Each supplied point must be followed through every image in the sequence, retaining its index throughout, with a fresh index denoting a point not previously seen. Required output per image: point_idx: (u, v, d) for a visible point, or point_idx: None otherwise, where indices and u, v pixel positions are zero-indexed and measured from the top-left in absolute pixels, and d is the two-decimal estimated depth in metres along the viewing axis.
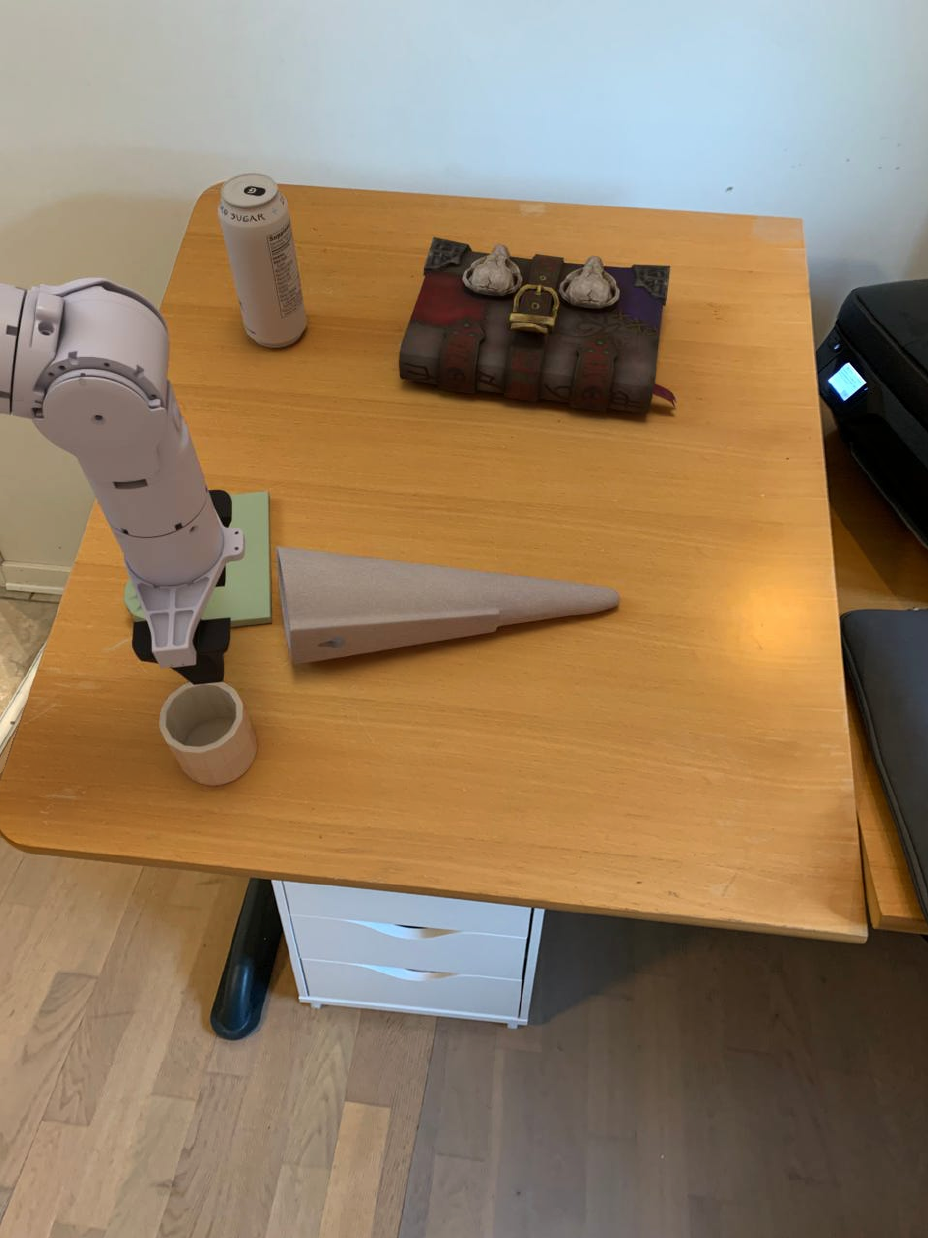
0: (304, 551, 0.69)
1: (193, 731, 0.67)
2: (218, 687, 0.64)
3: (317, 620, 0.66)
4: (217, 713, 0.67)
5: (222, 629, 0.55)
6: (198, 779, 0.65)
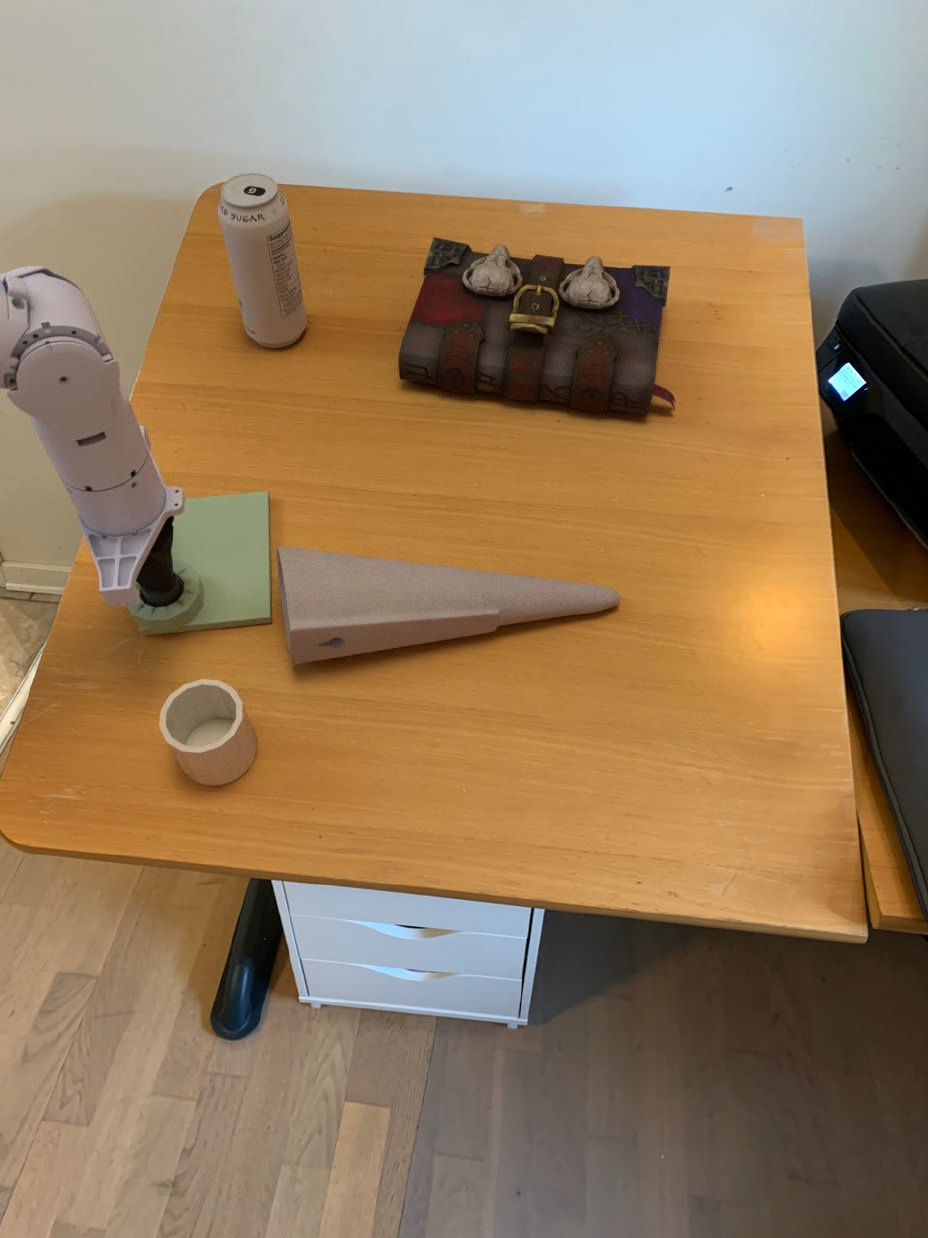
0: (304, 551, 0.69)
1: (193, 731, 0.67)
2: (218, 687, 0.64)
3: (317, 620, 0.66)
4: (217, 713, 0.67)
5: (166, 534, 0.65)
6: (198, 779, 0.65)
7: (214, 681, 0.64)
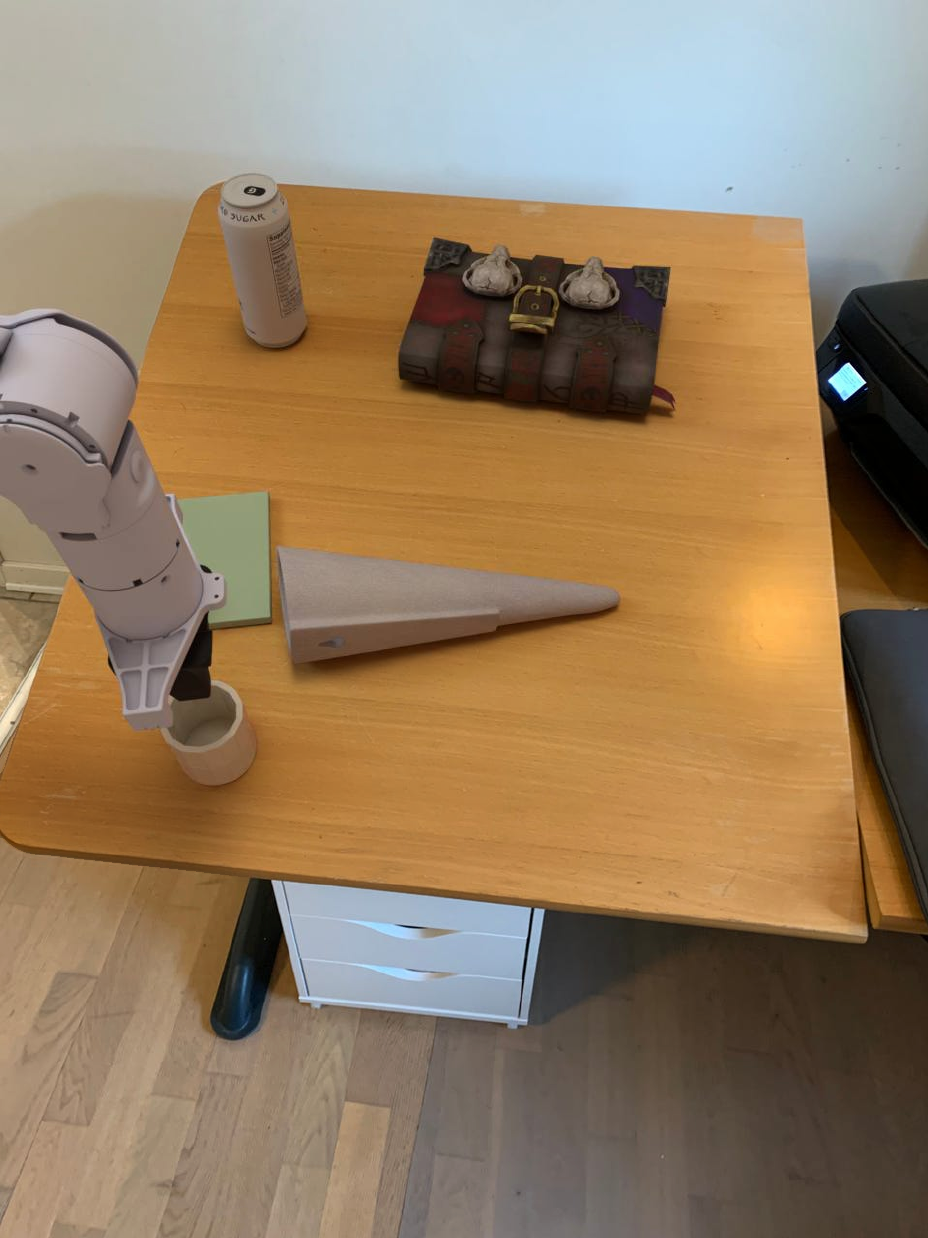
0: (304, 551, 0.69)
1: (193, 731, 0.67)
2: (218, 687, 0.64)
3: (317, 619, 0.66)
4: (217, 713, 0.67)
5: (203, 643, 0.52)
6: (198, 779, 0.65)
7: (214, 681, 0.64)
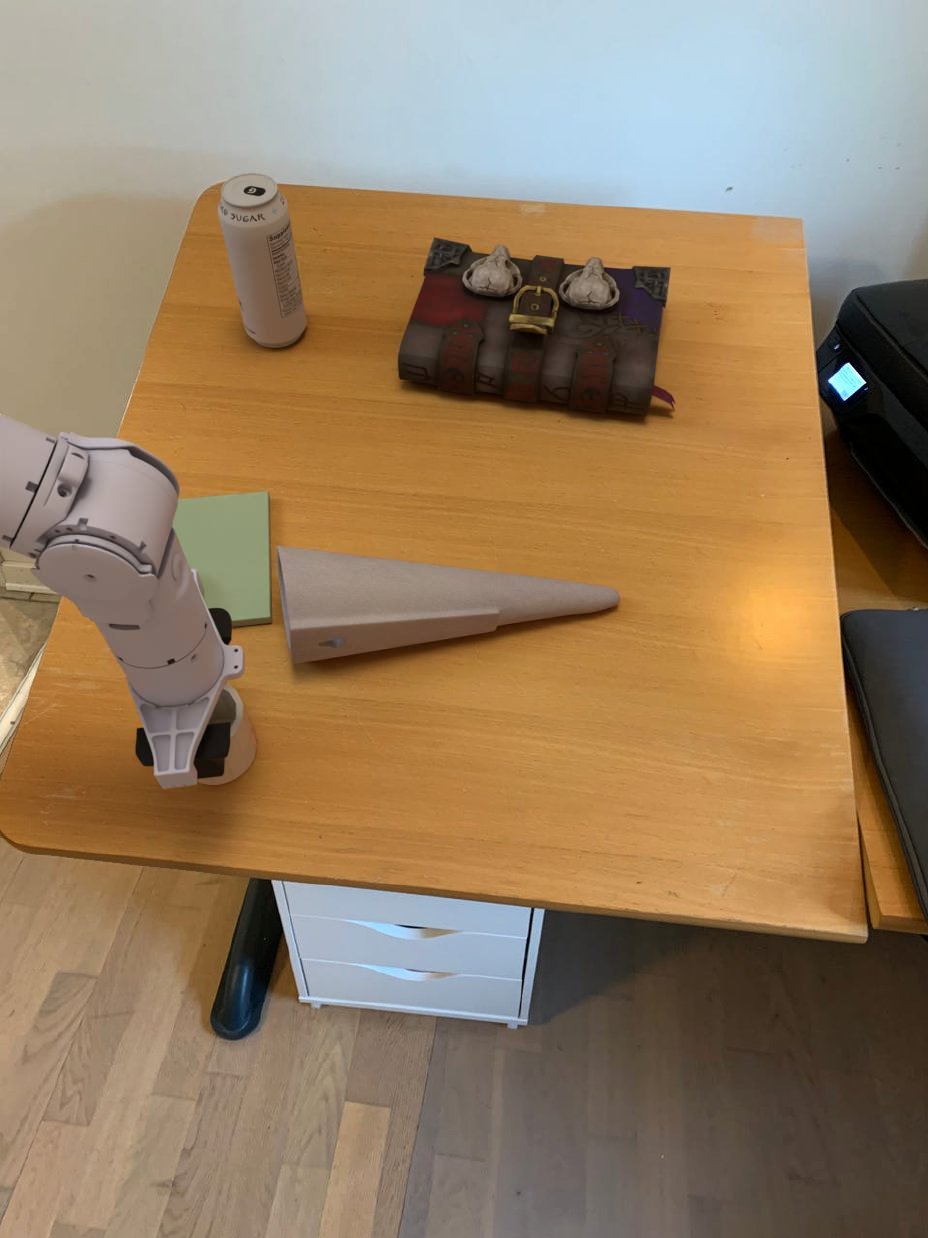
0: (304, 550, 0.69)
1: None
2: None
3: (318, 619, 0.66)
4: (217, 712, 0.67)
5: (222, 735, 0.57)
6: None
7: None
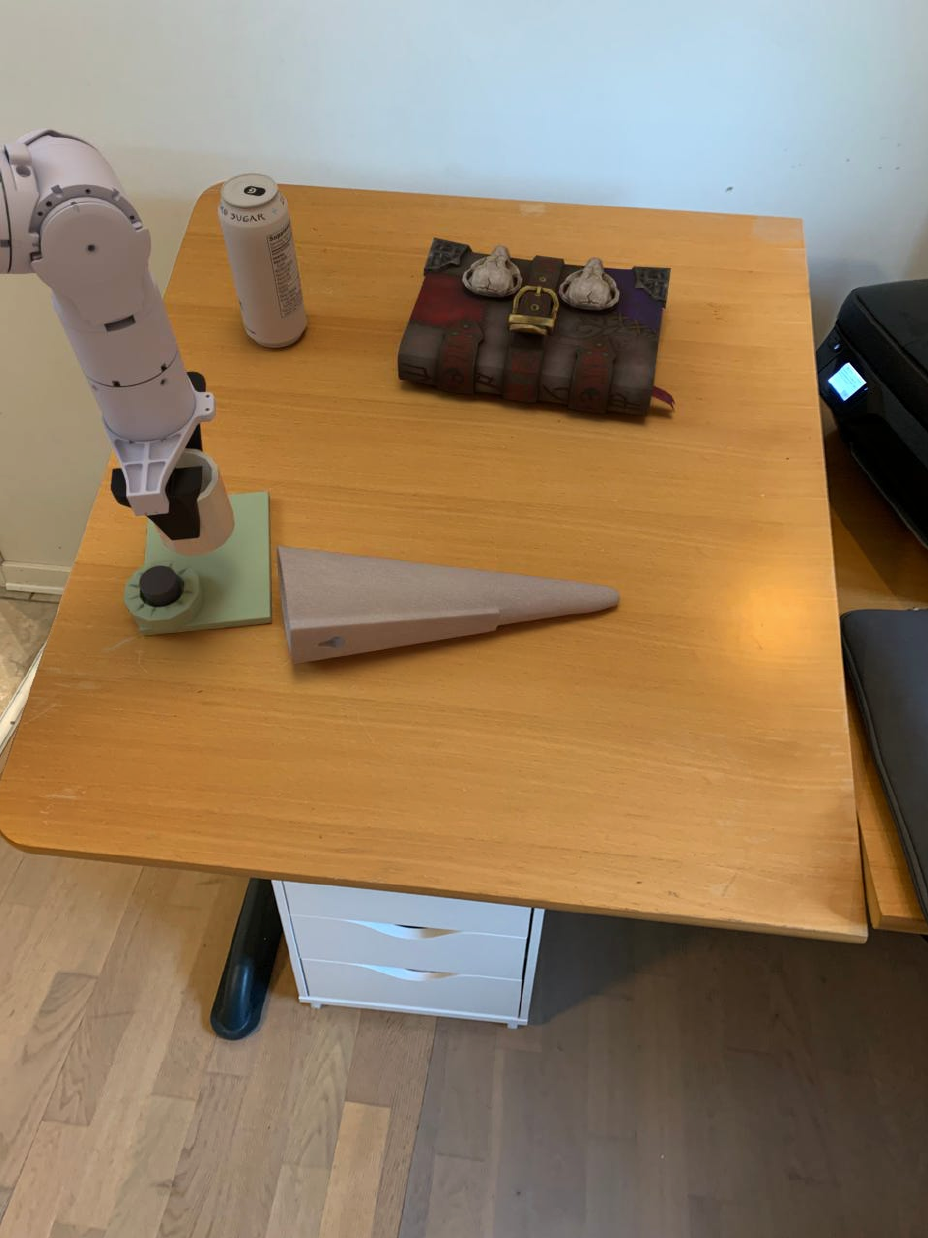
0: (304, 550, 0.69)
1: None
2: (195, 455, 0.66)
3: (318, 619, 0.66)
4: None
5: (194, 475, 0.59)
6: (177, 547, 0.67)
7: (191, 449, 0.66)
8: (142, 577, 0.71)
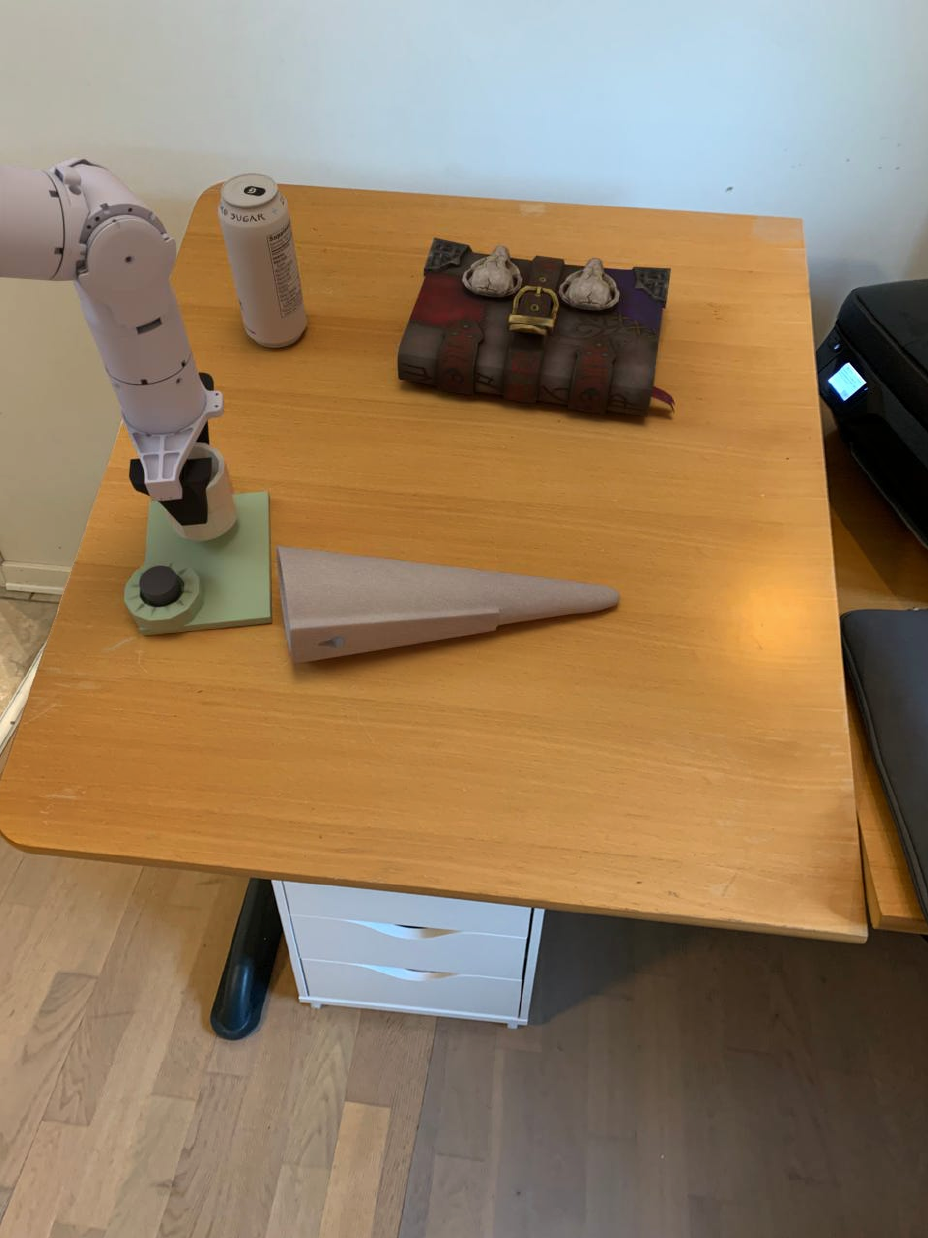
0: (304, 550, 0.69)
1: None
2: (203, 448, 0.73)
3: (318, 619, 0.66)
4: None
5: (204, 465, 0.66)
6: (186, 532, 0.74)
7: (200, 443, 0.73)
8: (142, 577, 0.71)
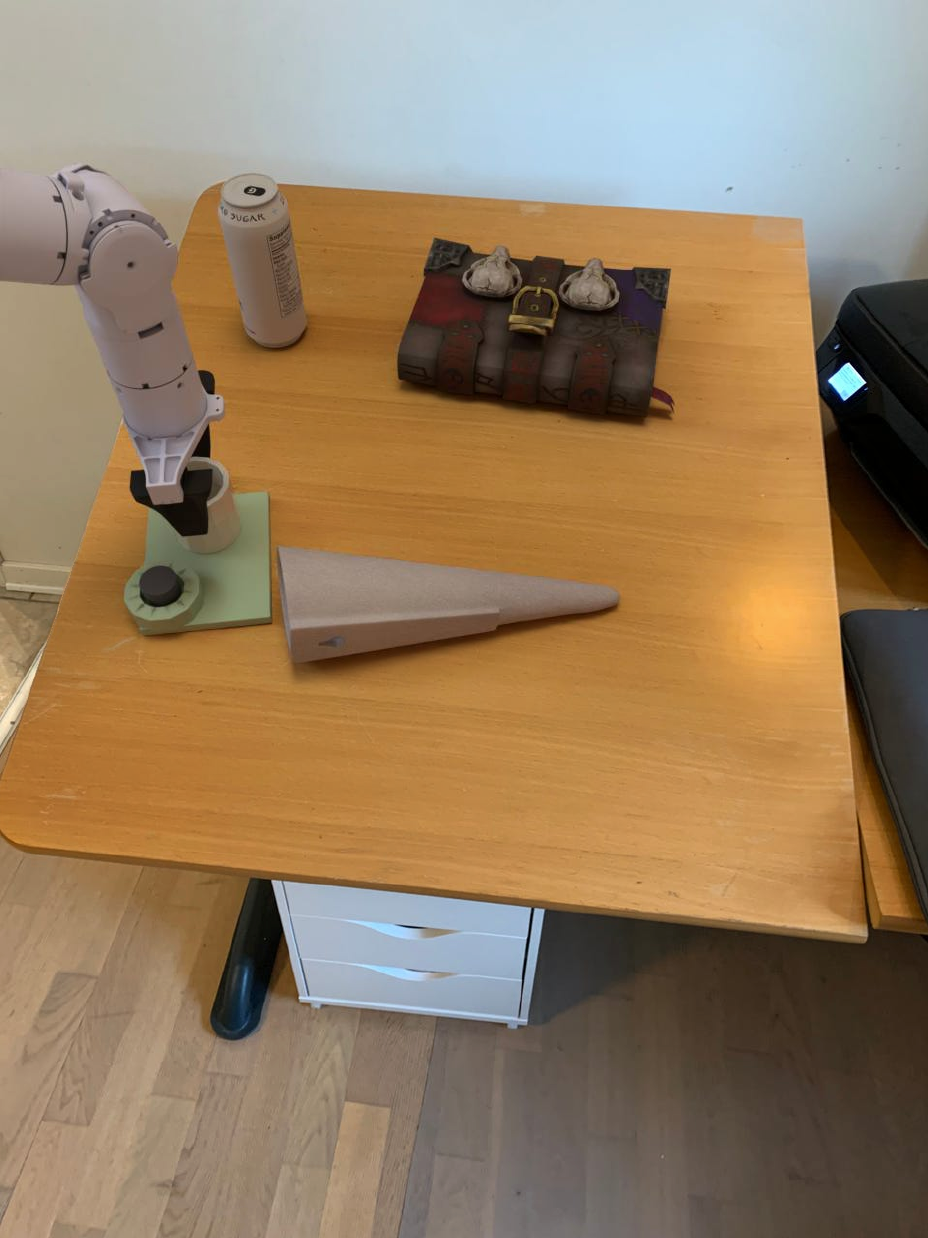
0: (304, 550, 0.69)
1: None
2: (208, 463, 0.74)
3: (318, 619, 0.66)
4: None
5: (205, 477, 0.66)
6: (191, 546, 0.75)
7: (204, 458, 0.74)
8: (142, 577, 0.71)
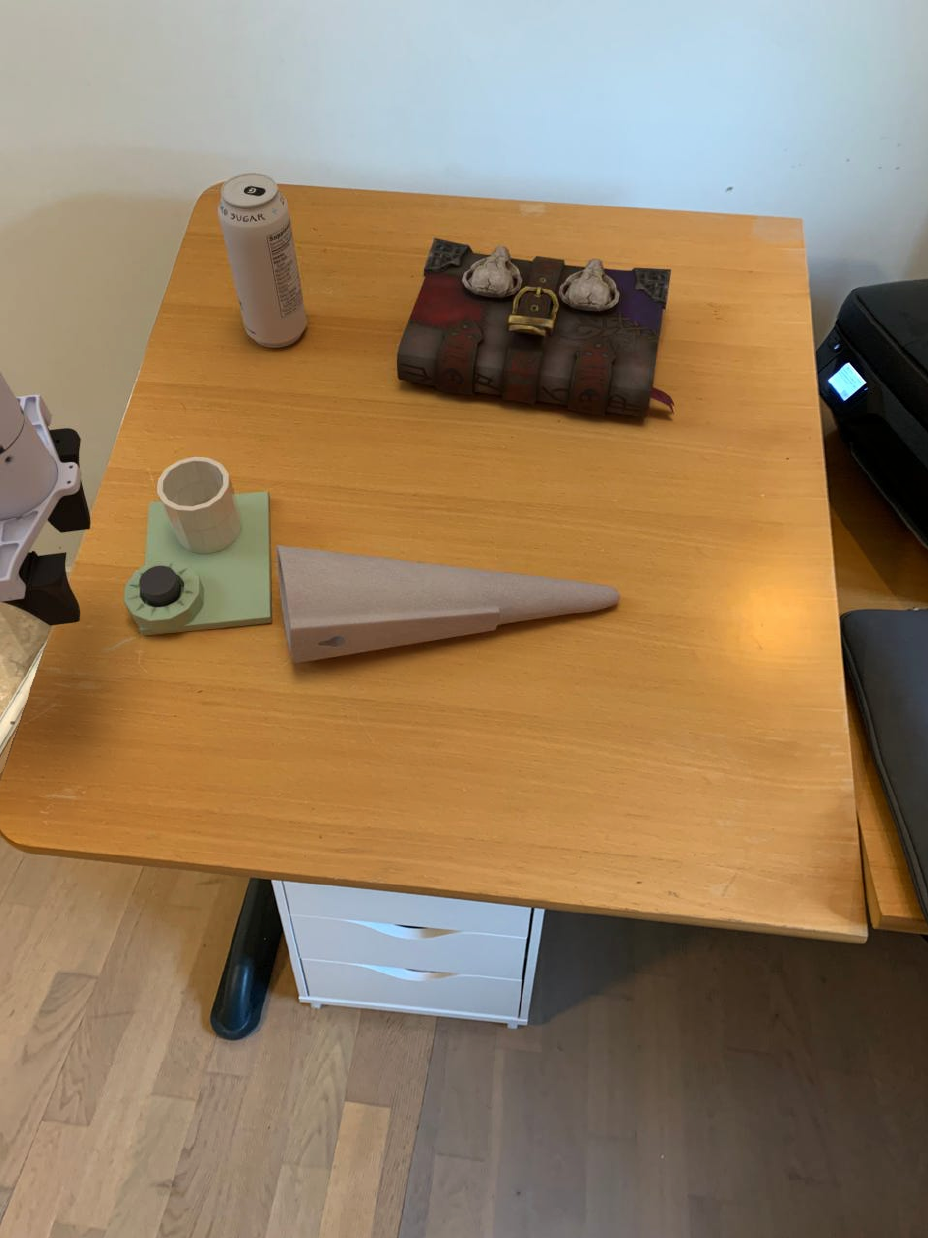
0: (304, 550, 0.69)
1: None
2: (208, 463, 0.74)
3: (318, 618, 0.66)
4: (207, 495, 0.77)
5: (56, 564, 0.55)
6: (191, 546, 0.75)
7: (204, 458, 0.74)
8: (142, 577, 0.71)
